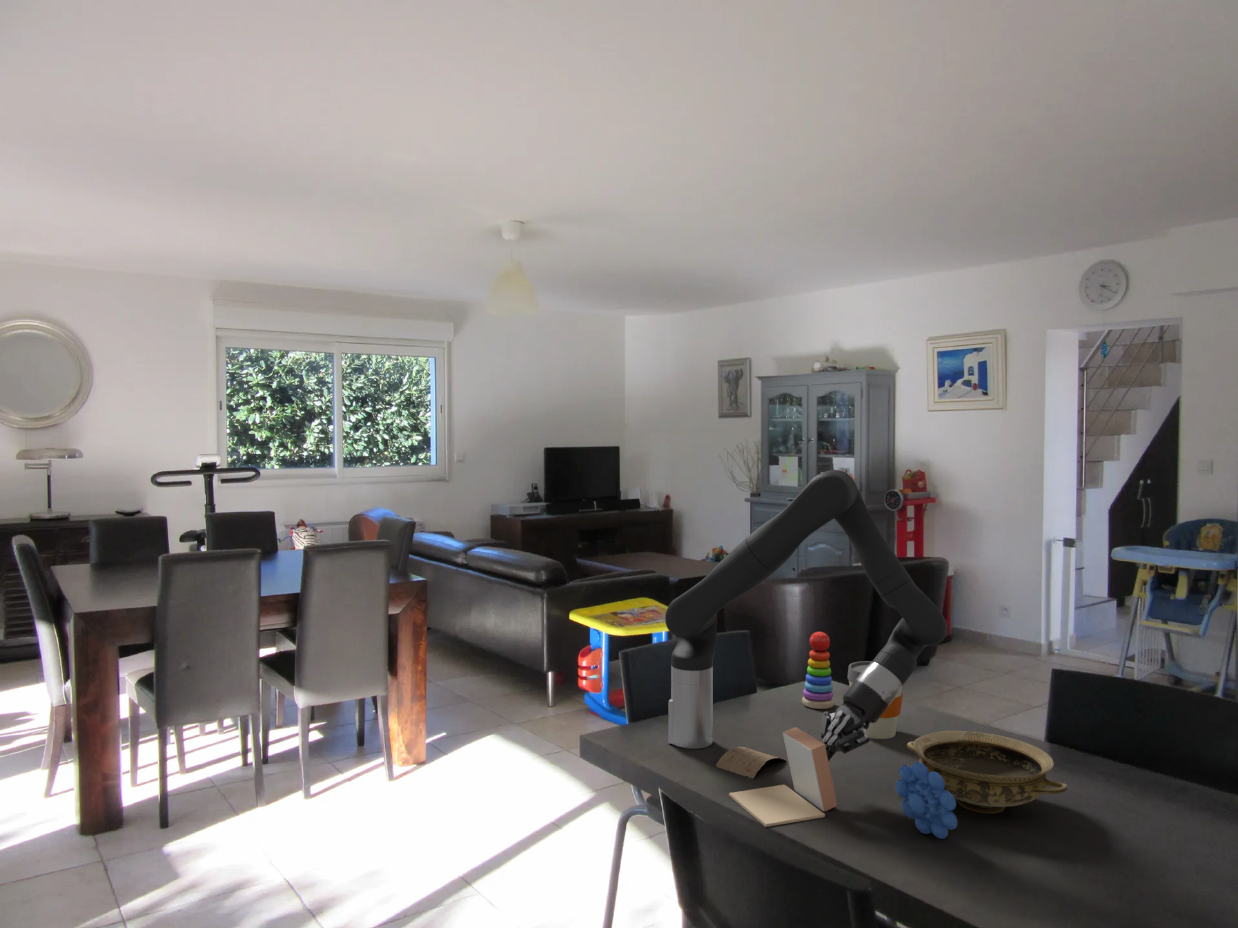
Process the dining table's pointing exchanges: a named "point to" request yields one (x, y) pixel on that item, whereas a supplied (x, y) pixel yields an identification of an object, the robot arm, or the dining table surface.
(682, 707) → the robot arm
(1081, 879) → the dining table surface
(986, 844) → the dining table surface
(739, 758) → the curved bark piece
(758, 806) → the mat
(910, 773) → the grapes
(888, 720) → the reusable coffee cup
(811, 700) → the stacking toy
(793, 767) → the tile
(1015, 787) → the ceramic bowl
